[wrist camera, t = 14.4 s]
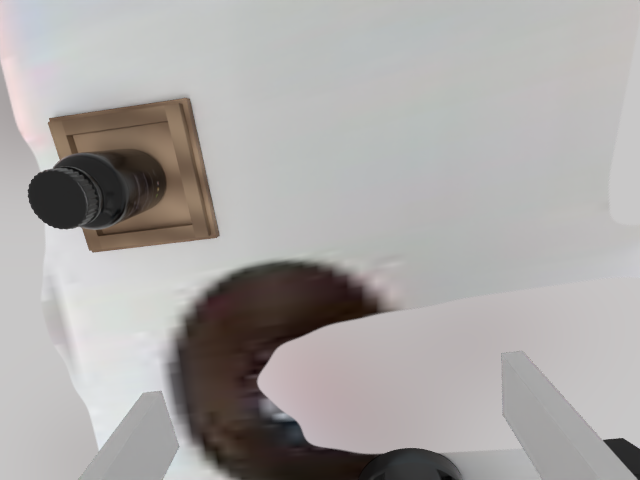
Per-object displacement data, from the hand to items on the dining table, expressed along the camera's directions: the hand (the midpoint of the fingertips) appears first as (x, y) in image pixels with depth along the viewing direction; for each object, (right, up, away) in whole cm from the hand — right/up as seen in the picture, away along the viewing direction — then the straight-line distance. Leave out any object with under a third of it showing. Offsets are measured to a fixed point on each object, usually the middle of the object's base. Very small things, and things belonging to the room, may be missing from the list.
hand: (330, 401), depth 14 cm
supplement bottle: (-20, +13, +26) cm, 35 cm away
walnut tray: (-21, +13, +26) cm, 36 cm away
